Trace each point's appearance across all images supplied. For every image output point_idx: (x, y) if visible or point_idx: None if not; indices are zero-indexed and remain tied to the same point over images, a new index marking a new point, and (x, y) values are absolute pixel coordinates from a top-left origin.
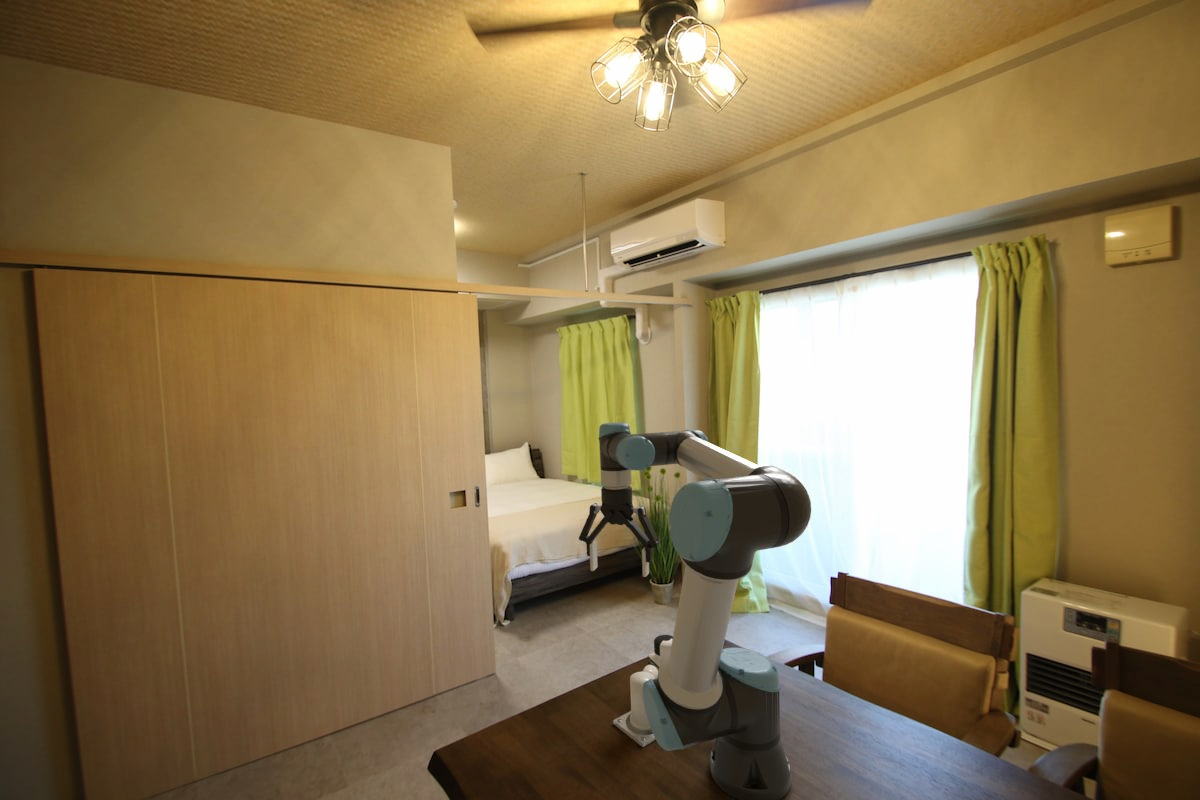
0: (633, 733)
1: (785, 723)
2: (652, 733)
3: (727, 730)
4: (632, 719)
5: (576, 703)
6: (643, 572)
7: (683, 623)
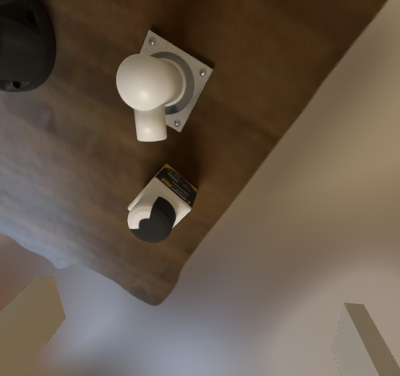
0: (170, 49)
1: (11, 154)
2: None
3: None
4: (176, 67)
5: (292, 100)
6: (33, 292)
7: None
